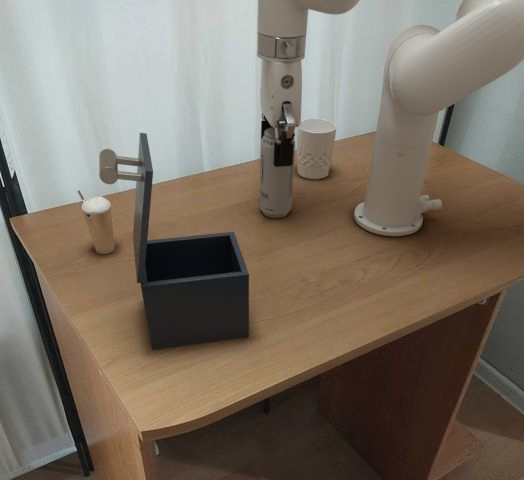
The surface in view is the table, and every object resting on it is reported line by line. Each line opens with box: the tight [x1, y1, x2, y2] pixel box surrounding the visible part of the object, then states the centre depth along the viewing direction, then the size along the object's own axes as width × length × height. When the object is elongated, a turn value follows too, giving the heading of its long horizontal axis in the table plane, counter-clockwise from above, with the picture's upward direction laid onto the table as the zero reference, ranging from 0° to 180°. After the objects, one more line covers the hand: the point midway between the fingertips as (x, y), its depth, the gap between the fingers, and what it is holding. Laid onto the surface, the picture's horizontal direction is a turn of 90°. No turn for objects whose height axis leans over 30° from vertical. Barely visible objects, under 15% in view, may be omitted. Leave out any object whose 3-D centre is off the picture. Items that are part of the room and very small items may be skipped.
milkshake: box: [77, 190, 116, 255], centre depth 88 cm, size 5×5×10 cm
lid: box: [98, 132, 154, 284], centre depth 64 cm, size 14×11×5 cm
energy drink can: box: [259, 127, 296, 219], centre depth 97 cm, size 6×6×15 cm
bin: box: [140, 231, 250, 351], centre depth 74 cm, size 14×11×11 cm
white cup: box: [296, 117, 338, 180], centre depth 111 cm, size 8×8×10 cm
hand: (275, 153), depth 94 cm, fingers open, 9 cm apart
